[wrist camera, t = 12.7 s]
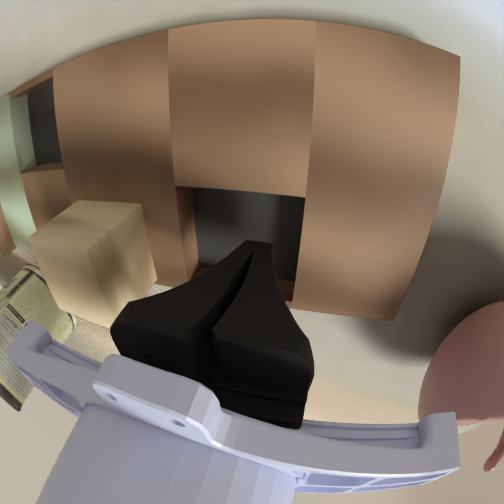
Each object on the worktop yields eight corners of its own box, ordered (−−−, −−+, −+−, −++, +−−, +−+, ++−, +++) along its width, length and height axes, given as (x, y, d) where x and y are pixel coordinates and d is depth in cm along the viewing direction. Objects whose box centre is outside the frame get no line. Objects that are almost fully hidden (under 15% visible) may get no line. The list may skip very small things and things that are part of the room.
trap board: (388, 297, 16) (396, 340, 13) (25, 236, 21) (3, 255, 19) (441, 59, 8) (477, 54, 5) (-4, 107, 14) (-33, 118, 11)
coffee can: (71, 337, 31) (20, 413, 19) (22, 287, 28) (-36, 354, 17) (86, 312, 25) (15, 412, 14) (24, 248, 23) (-55, 331, 11)
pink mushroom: (381, 360, 19) (380, 499, 10) (474, 237, 12) (559, 413, 3) (472, 375, 18) (486, 478, 9) (551, 286, 11) (601, 397, 2)
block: (157, 279, 16) (119, 332, 13) (98, 266, 17) (59, 308, 14) (141, 203, 13) (86, 251, 10) (78, 200, 14) (27, 238, 11)
